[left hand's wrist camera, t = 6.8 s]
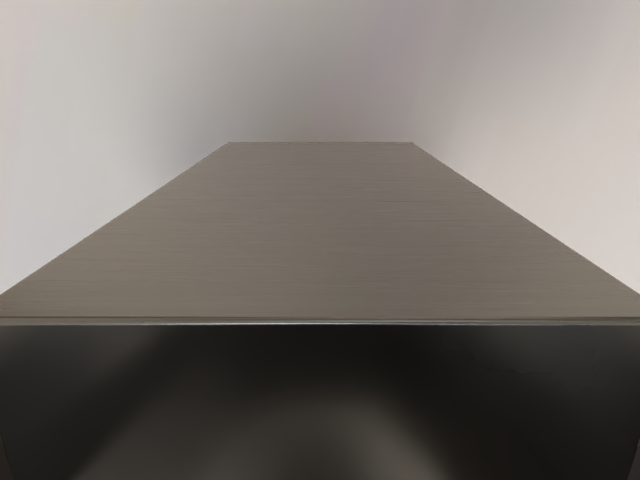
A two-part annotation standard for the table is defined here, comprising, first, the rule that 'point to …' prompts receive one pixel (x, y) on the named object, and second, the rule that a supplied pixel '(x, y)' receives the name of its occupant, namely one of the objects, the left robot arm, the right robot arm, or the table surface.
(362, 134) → the table surface
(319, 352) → the box
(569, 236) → the table surface
